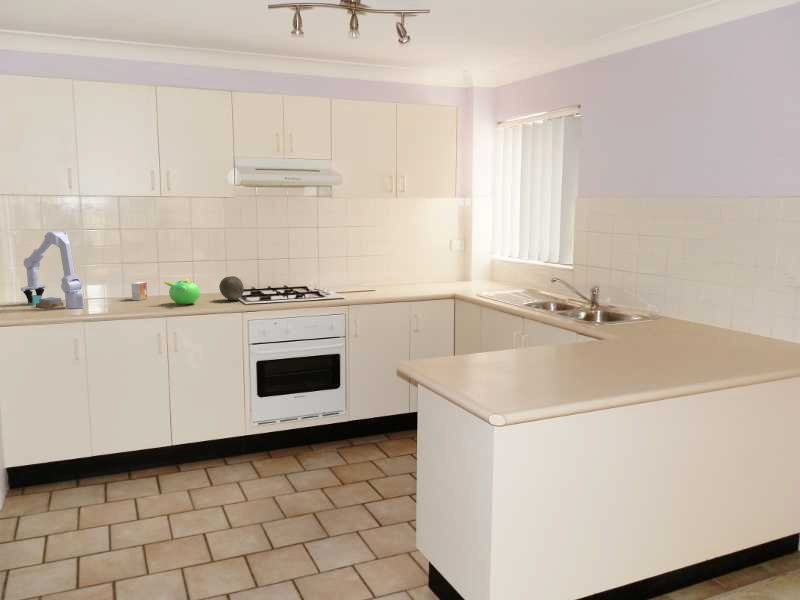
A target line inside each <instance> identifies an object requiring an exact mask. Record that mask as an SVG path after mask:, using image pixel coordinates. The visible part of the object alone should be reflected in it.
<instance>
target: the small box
mask: <svg viewBox="0 0 800 600" xmlns="http://www.w3.org/2000/svg"><path fill="white" fill-rule="evenodd" d="M147 284H148V283H147V281H136V282H132V283H131V300H132V301H143V300H147V299H148V286H147Z"/></svg>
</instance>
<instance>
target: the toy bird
mask: <svg viewBox="0 0 800 600" xmlns="http://www.w3.org/2000/svg"><path fill="white" fill-rule="evenodd" d="M163 283H164V284H165V285H167V286H169V287H170V288H169V289H168V290H169V291H168V294H169V297H170V299H171V300H172V302H174V303H176V304H179V305H183V306H184V305H191V304H194V303H196V302H197V300H199V298H200V295H201V290H200V288H199V286H198V285H197V284H196V283H194V282H192V281H190V278H188V279H184V280H180V281H177V282H170V281H164V282H163Z"/></svg>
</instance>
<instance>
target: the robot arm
mask: <svg viewBox="0 0 800 600" xmlns="http://www.w3.org/2000/svg"><path fill="white" fill-rule="evenodd" d="M52 245H54V246H56V247H58V248H59V252H60V258H61V263H62V270H63V276H62V278H61V280H60V281H61V285H60V288H61V291H62V292H63V293H64V298H65V306H64V309H65V310H67V309H83V308H84V307H85V298H84V292H83V291H81V289H82V287H83V284H82V281H81V279H80V276H78V275H77V274H75V268H74V260H73V256H72V255H73V253H72V248H71V243H70V241H69V235H68V233H66V232H65V231H64V230H61V231H47V232H46V234H45V235H44V240H43V241H42V243H41V244H40V246H39V248H35V249H33V252H32V253H31V254H30V255H29V257H26V258H24V260H23V265H24V267H25V268H26V276H27V277H26V278H27V286H24V287H23V286H22V287H20V291H21V292H23V295H25V297H26V299H27V303H28V302H29V303H32V295H33V294H34V293H33V290H34V292H35V295H40V296H41V298H42V297H43V295H44V291H45V289H47V284H40V283H39V282H40V279H39V267H40V265H41V261H42V259H43V258H44V257H45V255H46V253H45V252H46V251H47V250H48V249H49V248H50V247H51V246H52Z"/></svg>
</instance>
